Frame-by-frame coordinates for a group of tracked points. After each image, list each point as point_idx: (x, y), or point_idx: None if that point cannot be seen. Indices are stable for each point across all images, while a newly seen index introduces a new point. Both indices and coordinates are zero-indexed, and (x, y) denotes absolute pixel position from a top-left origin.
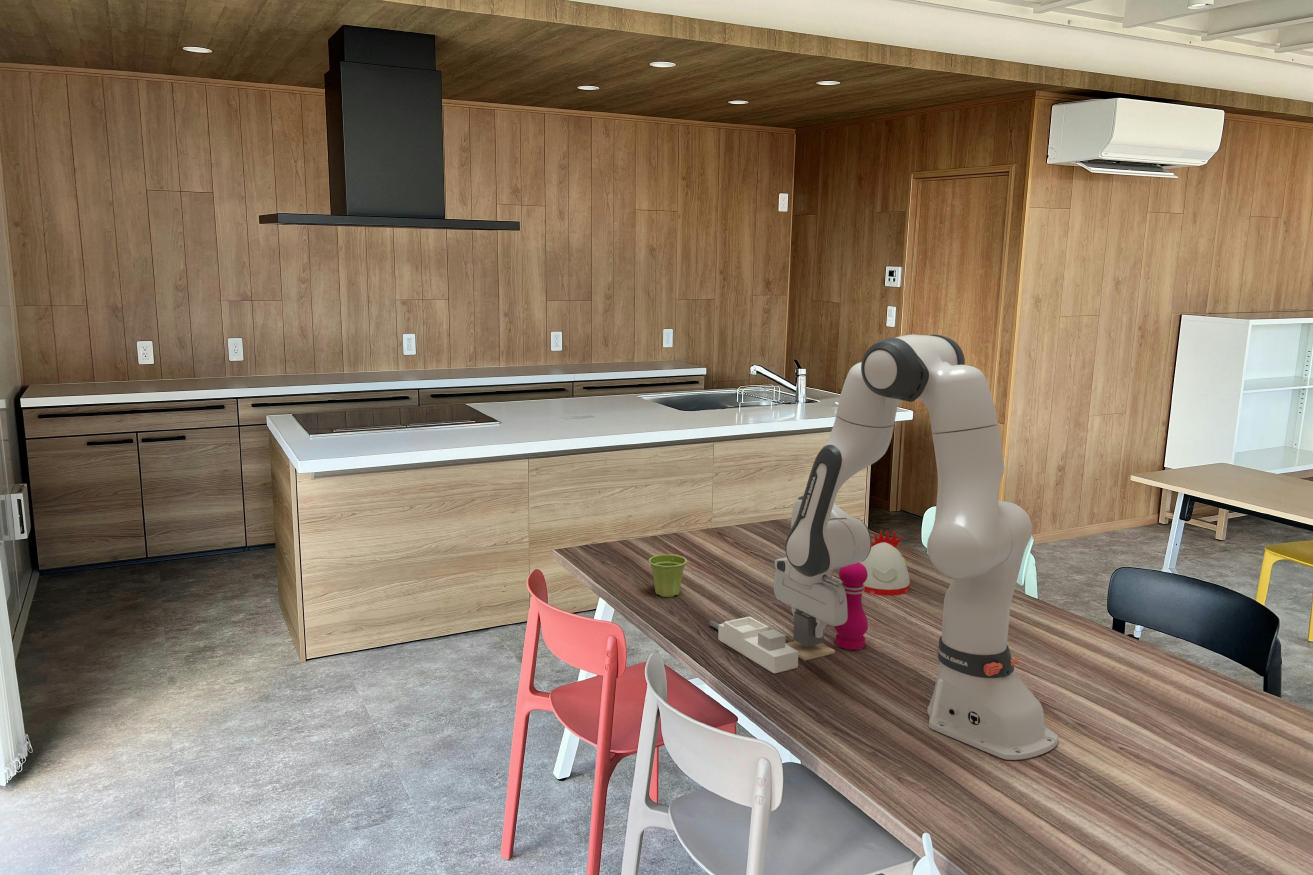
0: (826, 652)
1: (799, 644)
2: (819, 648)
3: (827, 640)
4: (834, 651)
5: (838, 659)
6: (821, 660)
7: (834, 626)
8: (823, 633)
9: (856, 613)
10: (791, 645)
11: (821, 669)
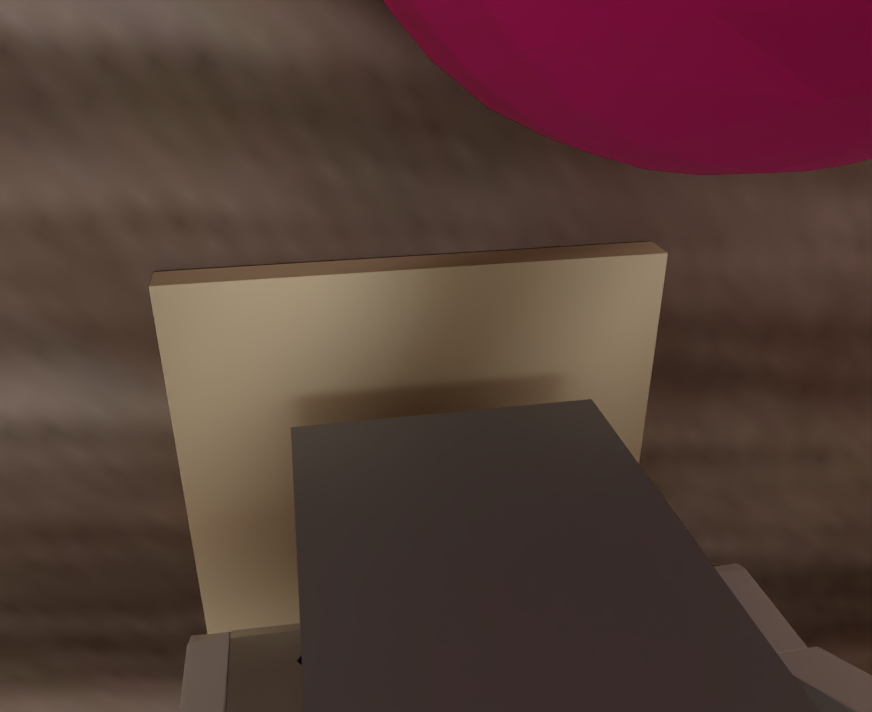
0: (649, 377)
1: None
2: (520, 386)
3: (267, 45)
4: (660, 253)
5: (791, 311)
6: (696, 475)
7: (533, 130)
8: (647, 486)
9: None
10: (288, 607)
11: (821, 567)
